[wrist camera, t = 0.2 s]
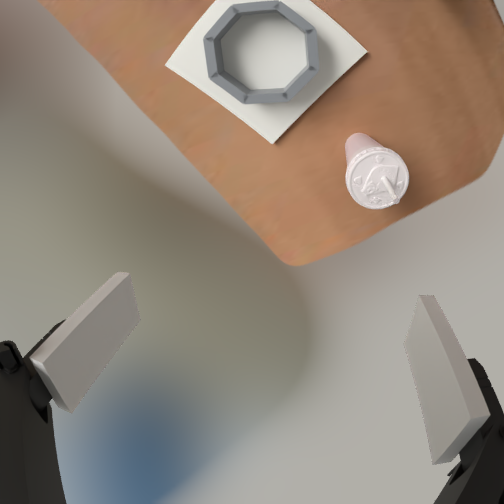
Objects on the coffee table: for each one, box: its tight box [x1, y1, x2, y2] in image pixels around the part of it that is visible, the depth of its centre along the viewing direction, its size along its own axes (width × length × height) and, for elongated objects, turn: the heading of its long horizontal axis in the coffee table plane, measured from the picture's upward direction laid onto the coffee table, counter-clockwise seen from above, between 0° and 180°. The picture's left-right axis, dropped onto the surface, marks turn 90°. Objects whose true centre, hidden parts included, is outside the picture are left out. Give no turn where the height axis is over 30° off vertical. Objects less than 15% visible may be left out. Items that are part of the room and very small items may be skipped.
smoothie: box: [345, 133, 409, 209], centre depth 29 cm, size 6×6×14 cm
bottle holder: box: [165, 0, 368, 144], centre depth 27 cm, size 16×16×4 cm
